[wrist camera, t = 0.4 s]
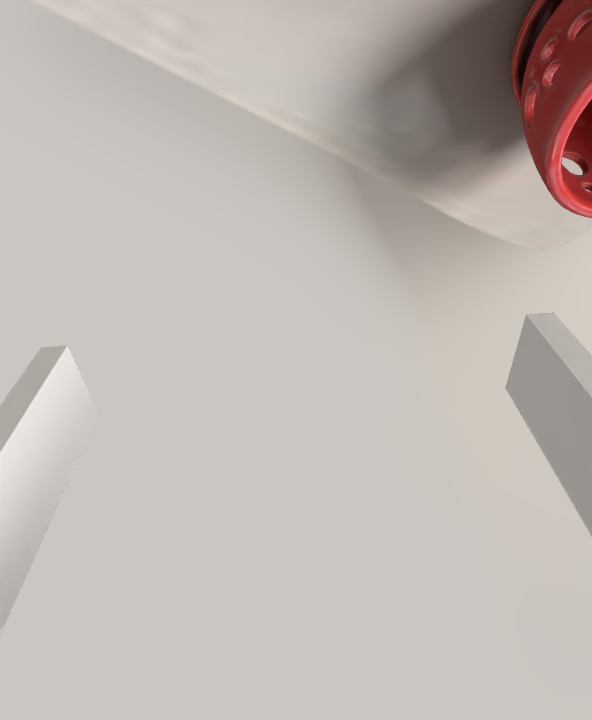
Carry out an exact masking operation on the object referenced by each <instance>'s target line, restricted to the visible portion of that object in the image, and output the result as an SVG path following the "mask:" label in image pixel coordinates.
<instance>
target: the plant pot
mask: <svg viewBox="0 0 592 720" xmlns="http://www.w3.org/2000/svg"><path fill="white" fill-rule="evenodd" d="M511 84H512V89H513V92H514V95H515V98H516V101H517V102H518V104H519V106H520V107H521V113H522V121H523V125H524V131H525V136H526V141H527V144H528V147H529V150H530V152H531V155H532V158H533V161H534V163H535V166H536V168H537V170H538V172H539V174H540V176H541V178H542V180H543V182H544V183H545V185H546V187H547V189H548V190H549V192H550V193H551V195H552V196H553V198H554V199H555V200H556V201H557V202H558V203H559V204H560V205H561V206H562V207H564V208H565V209H567V210H569V211H571V212H572V213H575V214H577V215H581V216H585V217H589V218H592V0H535V2H534V4H533V5H532V7H531V8H530V10H529V12H528V14H527V16H526V18H525V20H524V22H523V24H522V26H521V28H520V31H519V34H518V36H517V39H516V42H515V46H514V50H513V54H512V60H511ZM562 157H564V158H567V159H570V160H572V161H574V162H575V163H576V164H578V165H579V166H580V167H581V169H582V172H583V175H575V174H573V173H570V172H569V171H568V170H567V169H566V168H565V167H564V166H563V165H562ZM585 189H587V190H589V191H591V192H588V191H586V190H585Z"/></svg>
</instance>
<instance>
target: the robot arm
mask: <svg viewBox="0 0 592 720" xmlns="http://www.w3.org/2000/svg"><path fill="white" fill-rule="evenodd" d="M506 389H507V391H508V393H509V395H510V396H511V398H512V399H513V401H514V403H515V405H516V407H517V408H518V410H519V412H520V414H521V415H522V417H523V419H524V420H525V422H526V424H527V426H528V427H529V429H530V431H531V432H532V434H533V436H534V438H535V439H536V441H537V443H538V445H539V446H540V448H541V450H542V451H543V453H544V455H545V456H546V458H547V460H548V461H549V463H550V465H551V467H552V469H553V470H554V472H555V474H556V475H557V477H558V479H559V481H560V482H561V484H562V486H563V488H564V489H565V491H566V492H567V494H568V496H569V498H570V500H571V501H572V503H573V505H574V506H575V508H576V510H577V511H578V513H579V515H580V517H581V518H582V520H583V522H584V524H585V525H586V527H587V529H588V530H589V532H590V534H591V536H592V356H591V354H590V353H589V352H588V351H587V350H586V349H585V348H584V346H583V345H582V344H581V343H580V342H579V341H578V340H577V338H576V337H575V336H574V335H573V334H572V333H571V332H570V331H569V329H568V328H567V327H566V326H565V325H564V324H563V323H562V321H561V320H560V319H559V318H558V317H557V316H556V315H555V313H539V314H527V315H526V317H525V321H524V324H523V328H522V331H521V335H520V338H519V342H518V345H517V349H516V352H515V356H514V359H513V363H512V367H511V370H510V374H509V378H508V381H507V384H506ZM97 417H98V412H97V410H96V408H95V406H94V403H93V402H92V399H91V397H90V395H89V393H88V390H87V388H86V386H85V384H84V382H83V379H82V377H81V375H80V373H79V371H78V369H77V366H76V364H75V362H74V360H73V358H72V356H71V353H70V351H69V349H68V347H67V346H57V347H42V348H40V350H39V351H38V352H37V354H36V355H35V357H34V358H33V360H32V361H31V363H30V364H29V365H28V367H27V368H26V370H25V371H24V372H23V374H22V375H21V377H20V378H19V380H18V381H17V382H16V384H15V385H14V387H13V388H12V390H11V391H10V392H9V394H8V395H7V397H6V398H5V400H4V401H3V402H2V404H1V405H0V634H1V632H2V629H3V627H4V625H5V623H6V620H7V618H8V616H9V614H10V611H11V609H12V607H13V605H14V602H15V600H16V598H17V596H18V594H19V591H20V589H21V587H22V585H23V582H24V580H25V578H26V576H27V573H28V571H29V569H30V567H31V564H32V562H33V560H34V558H35V555H36V553H37V551H38V549H39V547H40V544H41V542H42V540H43V538H44V535H45V533H46V531H47V529H48V526H49V524H50V522H51V520H52V517H53V515H54V513H55V511H56V508H57V506H58V504H59V502H60V499H61V497H62V495H63V493H64V490H65V488H66V486H67V484H68V482H69V479H70V477H71V475H72V472H73V470H74V468H75V466H76V463H77V461H78V459H79V457H80V455H81V452H82V450H83V448H84V446H85V443H86V441H87V439H88V437H89V434H90V432H91V430H92V428H93V425H94V423H95V421H96V419H97Z"/></svg>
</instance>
